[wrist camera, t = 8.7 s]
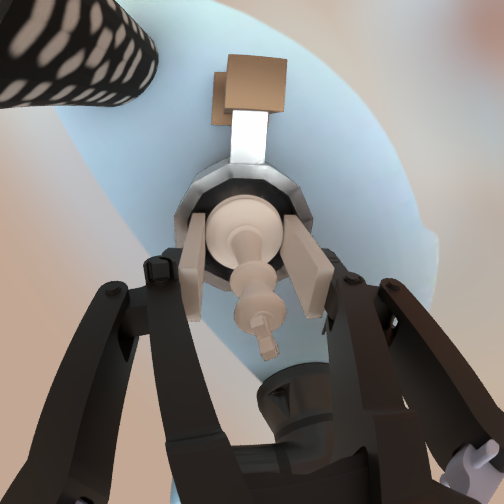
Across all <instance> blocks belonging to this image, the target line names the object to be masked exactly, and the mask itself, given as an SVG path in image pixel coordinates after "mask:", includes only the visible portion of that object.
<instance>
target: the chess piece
mask: <svg viewBox="0 0 504 504" xmlns="http://www.w3.org/2000/svg"><path fill="white" fill-rule="evenodd" d="M205 240H206V244H207V247H208V250H209V252H210V253H211V255H212V256H213V257H214V258H215V259H216V260H217V261H218V262H219V263H220V264H222V265H224V266H226V267H228V268H231V269H234V271H233V272H232V274H231V277H230V286H231V289H232V291H233V292H234V294H235V295H236V296H237V297H238V298H240V299H239V301H238V302H237V305H236V307H235V311H234V320H235V323H236V324H237V326H238V327H239V328H240V329H241V330H242V331H244V332H246V333H249V334H253V335H255V336H256V337H257V339H258V343H259V348H260V354H261V356H262V357H263V359H264V360H265V361H267V360H270V359H273V358H276V357H277V355H278V354H279V350H278V345H277V344H276V342H275V340H274V338H273V336H272V331H274V330H276V329H277V328H279V327H280V326H281V325H282V323H283V322H284V320H285V318H286V306H285V304H284V302H283V301H282V299H281V298H280V297H279V296H278V295H277V294H276V293H274V292H273V291H274V289H275V287H276V283H277V275H276V272H275V270H274V268H273V267H272V266H271V265H269V264H268V262H269V261H270V260H271V259H272V258H273V257H274V256H275V255H276V254H277V252H278V251H279V249H280V247H281V244H282V241H283V226H282V221H281V218H280V215H279V213H278V212H277V210H276V209H275V208H274V207H273V206H272V205H271V204H270V203H269V202H267V201H266V200H264V199H262V198H260V197H257V196H253V195H237V196H233V197H230V198H228V199H225V200H224V201H222V202H221V203H219V204H218V205H217V206H216V207H215V208H214V209H213V210H212V211H211V213H210V214H209V216H208V218H207V221H206V224H205Z"/></svg>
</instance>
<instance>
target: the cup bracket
mask: <svg viewBox="0 0 504 504" xmlns="http://www.w3.org/2000/svg"><path fill="white" fill-rule="evenodd" d="M267 119H268V112H262V111H247V110H233V111H232V126H231V145H230V158H226V159H224V160H222V161H219V162H217V163H215V164H213V165H211V166H209V167H208V168H206V169H205V170H203V171H202V172H200V173H198V174H197V175H196V176H195V178H194V180H193V182H192V183H191V185H190V186H189V188H188V190H187V192H186V193H185V195H184V197H183V199H182V200H181V202H180V204H179V206H178V209H177V211H176V213H175V215H174V224H175V242H176V248H183V247H184V243H185V239H186V236H187V232H188V228H189V225H190V221H191V217H192V214H193V213H205V224H206V221H207V218H208V216H209V214H210V213H211V211H212V210H213V209H214V208H215V207H216V206H217V205H218V204H219V203H221V202H222V201H224V200H225V199H228V198H230V197H233V196H237V195H253V196H257V197H260V198H262V199H264V200H266V201H267V202H269V203H270V204H271V205H272V206H273V207H274V208H275V209H276V210H277V212H278V213H279V215H280V218H281V221H282V226H283V223H284V215H296V216H297V217H298V218H299V220H300V221H301V222H302V224H303V225H304V226H305V228H306V229H307V230H308V232H309V233H310V235H311V229H312V223H313V217H312V215H311V212H310V210H309V208H308V205H307V203H306V201H305V198H304V196H303V194H302V191H301V189H300V187H299V186H298V185H297V184H296V183H295V182H293V181H292V180H291V179H290V178H289V177H287V176H286V175H284V174H283V173H281V172H280V171H278V170H277V169H276V168H274V167H273V166H271V165H269V164H268V163H266V162H265V161H264V159H265V146H266V132H267ZM280 249H281V247H280ZM280 249H279V251H278V252H277V254H276V255H275V256H274V257H273V258H272V259H271V260H270V261H269V262H268V264H269V265H271V266H272V267H273V268H274V270H275V272H276V275H277V282H278V281H280V280H282V279H284V278H286V277H288V276H289V274H288V272H287V269H286V267H285V265H284V262H283V260H282V258H281V255H280ZM233 271H234V269H231V268H228V267H226V266H224V265H222V264H220V263H219V262H218V261H217V260H216V259H215V258H214V257H213V256H212V255H211V253H210V252H209V250H208V247H207V244H206V240H205V264H204V276H203V281H204V282H206V283H208V284H210V285H212V286H214V287H217V288H219V289H221V290H223V291H232V289H231V286H230V277H231V274H232V272H233Z"/></svg>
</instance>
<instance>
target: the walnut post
mask: <svg viewBox="0 0 504 504" xmlns="http://www.w3.org/2000/svg"><path fill="white" fill-rule="evenodd" d="M286 72H287V59H281V58H272V57H263V56H251V55H235V54H229V55H228V64H227V72H215V74H214V88H213V105H212V124H211V125H232V111H233V110H247V111H262V112H268V119H267V127H268V120H269V114H272V113H278V112H284V100H285V86H286Z"/></svg>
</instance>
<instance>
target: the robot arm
mask: <svg viewBox="0 0 504 504" xmlns="http://www.w3.org/2000/svg"><path fill="white" fill-rule="evenodd" d="M280 255H281V258H282V260H283V262H284V265H285V267H286V269H287V272H288V274H289V277H290V279H291V281H292V284H293V286H294V289H295V291H296V293H297V296H298V298H299V301H300V303H301V306H302V308H303V311H304V313H305V315H306V318H307V319H312V318H322V315H323V312H324V308H325V310H326V312H327V318H326V321H325V325H324V328H323V331H322V335H324V333H325V331H326V333H327V342H328V353H329V364H330V365H329V364H324V363H309V364H303V365H298V366H294V367H291V368H288V369H285V370H283V371H281V372H278V373H276V374H275V375H273V376H271V377H270V378H268V379H267V380H266V381H265V382H264V383H263V384H262V385H261V386H260V387H259V390H258V391H257V402H258V407H259V410H260V412H261V413H262V415H263V417H264V419H265V420H266V422H267V424H268V425H269V427H270V428H271V430H272V432H273V433H274V437H275V442H276V443H274V444H260V445H240V446H231V445H230V442H229V440H228V438H227V436H226V434H225V432H223V431H222V429H221V427H220V424H219V421H218V418H217V416H216V413H215V410H214V407H213V404H212V401H211V398H210V395H209V392H208V389H207V386H206V383H205V380H204V377H203V373H202V370H201V367H200V364H199V360H198V357H197V353H196V350H195V346H194V343H193V339H192V336H191V332H190V328H189V324H188V321H199V322H200V318H201V303H202V289H203V276H204V264H205V213H193V214H192V217H191V221H190V225H189V228H188V232H187V236H186V239H185V243H184V247H183V248H168V249H166V250H165V251H164V252H163V253H162V256H154V257H151V258H149V259H147V260H146V261H145V262H144V264H143V267H144V273H145V280H146V285H145V286H143V287H140V288H135V289H130V290H128V286H127V285H126V284H125V283H124V282H121V281H111V282H107V283H105V284H104V285H102V286H101V287H100V288H99V289H98V291H97V293H96V294H95V296H94V298H93V300H92V302H91V304H90V305H89V307H88V309H87V311H86V313H85V315H84V316H83V318H82V320H81V322H80V324H79V327H78V328H77V330H76V332H75V334H74V336H73V338H72V340H71V342H70V344H69V347H68V349H67V351H66V353H65V356H64V358H63V360H62V362H61V364H60V366H59V369H58V371H57V374H56V376H55V378H54V381H53V383H52V386H51V388H50V391H49V393H48V396H47V399H46V401H45V404H44V407H43V410H42V413H41V415H40V418H39V422H38V424H37V428H36V431H35V434H34V437H33V441H32V444H31V448H30V452H29V456H28V460H27V461H26V463H25V464H24V466H23V467H22V468H21V470H20V471H19V473H18V474H17V476H16V478H15V479H14V481H13V482H12V484H11V485H10V487H9V489H8V490H7V492H6V493H5V495H4V497H3V498H2V500H1V502H0V504H107V503H108V500H109V495H110V489H111V481H112V472H113V464H114V457H115V450H116V443H117V436H118V431H119V425H120V420H121V414H122V409H123V404H124V399H125V395H126V390H127V385H128V381H129V377H130V372H131V368H132V364H133V360H134V356H135V352H136V348H137V344H138V340H139V336H141V335H146V334H150V344H151V352H152V360H153V368H154V375H155V382H156V389H157V395H158V401H159V406H160V411H161V417H162V422H163V427H164V431H165V436H166V442H165V446H166V452H167V456H168V461H169V464H170V468H171V472H172V476H173V479H172V485H171V495H170V504H487V503H488V502H489V500H490V499H491V497H492V496H493V494H494V493H495V491H496V489H497V488H498V486H499V484H500V482H501V481H502V479H503V477H504V412H503V411H501V409H500V408H498V407H497V405H496V404H495V402H494V400H493V399H492V397H491V396H490V394H489V393H488V391H487V390H486V388H485V387H484V386H483V384H482V382H481V381H480V379H479V378H478V376H477V375H476V374H475V372H474V371H473V369H472V368H471V366H470V365H469V364H468V363H467V361H466V360H465V358H464V357H463V356H462V354H461V353H460V352H459V350H458V349H457V348H456V346H455V345H454V344H453V342H452V341H451V340H450V339H449V337H448V336H447V335H446V334H445V333H444V331H443V330H442V329H441V327H440V326H439V325H438V324H437V322H436V321H435V320H434V319H433V318H432V316H430V314H429V313H428V312H427V311H426V309H425V308H424V307H423V306H422V305H421V304H420V302H419V301H418V300H417V299H416V298H415V297H414V296H413V294H412V293H411V292H410V291H409V290H408V289H407V288H406V287H405V285H403V284H402V283H401V282H399V281H398V280H396V279H393V278H385V279H383V280H381V283H380V286H379V287H378V286H372V285H367V284H366V282H365V280H364V279H363V277H361V276H360V275H358V274H356V273H352V272H348V270H347V269H346V268H345V266H344V265H343V264H342V263H341V261H340V260H339V259H338V257H337V256H336V255H335V253H334V252H332V251H330V250H329V249H325V248H320V247H319V246H318V244H317V243H316V241H315V240H314V239H313V237H312V236H311V235H310V233H309V232H308V230H307V229H306V228H305V226H304V225H303V224H302V222H301V221H300V220H299V218H298V217H297V216H296V215H284V223H283V241H282V244H281V249H280ZM395 317H396V318H397V320H398V323H397V325H396V327H395V326H394V325H393V324H392V323H393V321H394V319H395ZM402 396H403V397H404V399H405V401H406V403H407V405H408V407H409V409H407V408H406V407H405V405H404V401H403V397H402ZM425 442H426V443H425ZM426 444H427V446H428V448H429V450H430V452H431V454H432V456H433V457H434V458H435V460H436V462H437V463H438V465H439V466H440V467H441V468H442V470H443V471H444V472H445V473H444V474H442V476H441V477H440V483H439V482H437V481H435V480H433V479H432V476H431V470H430V465H429V459H428V453H427V448H426ZM448 486H450V488H449V487H448Z"/></svg>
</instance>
